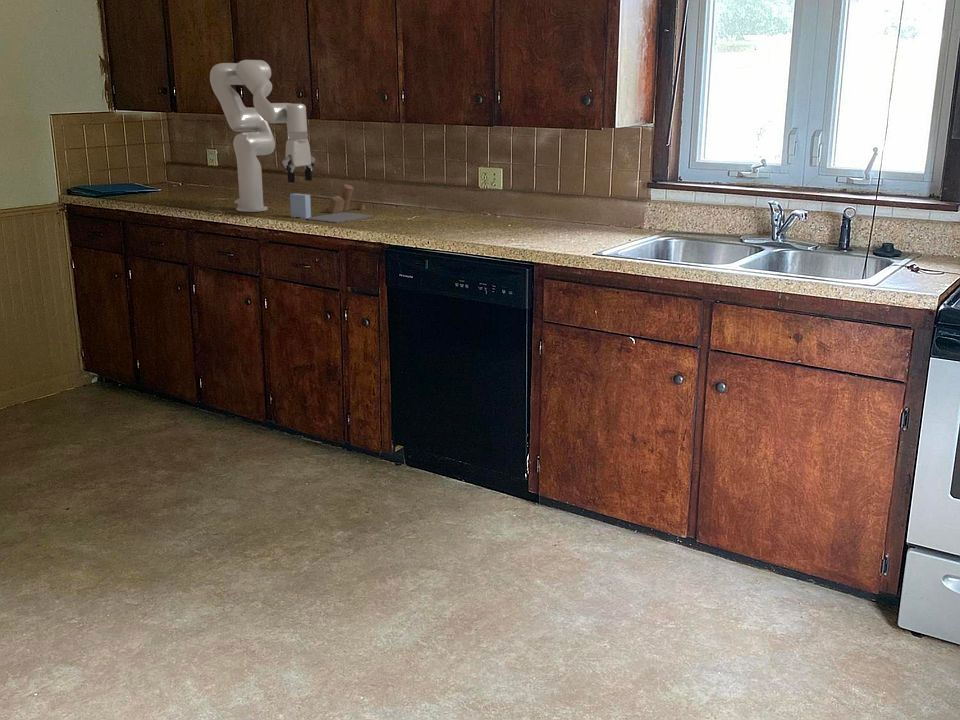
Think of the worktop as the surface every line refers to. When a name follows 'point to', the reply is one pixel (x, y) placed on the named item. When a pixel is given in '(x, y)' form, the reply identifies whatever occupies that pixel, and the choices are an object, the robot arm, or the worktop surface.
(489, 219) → the worktop surface
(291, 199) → the slab
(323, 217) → the mat
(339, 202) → the wooden block set
